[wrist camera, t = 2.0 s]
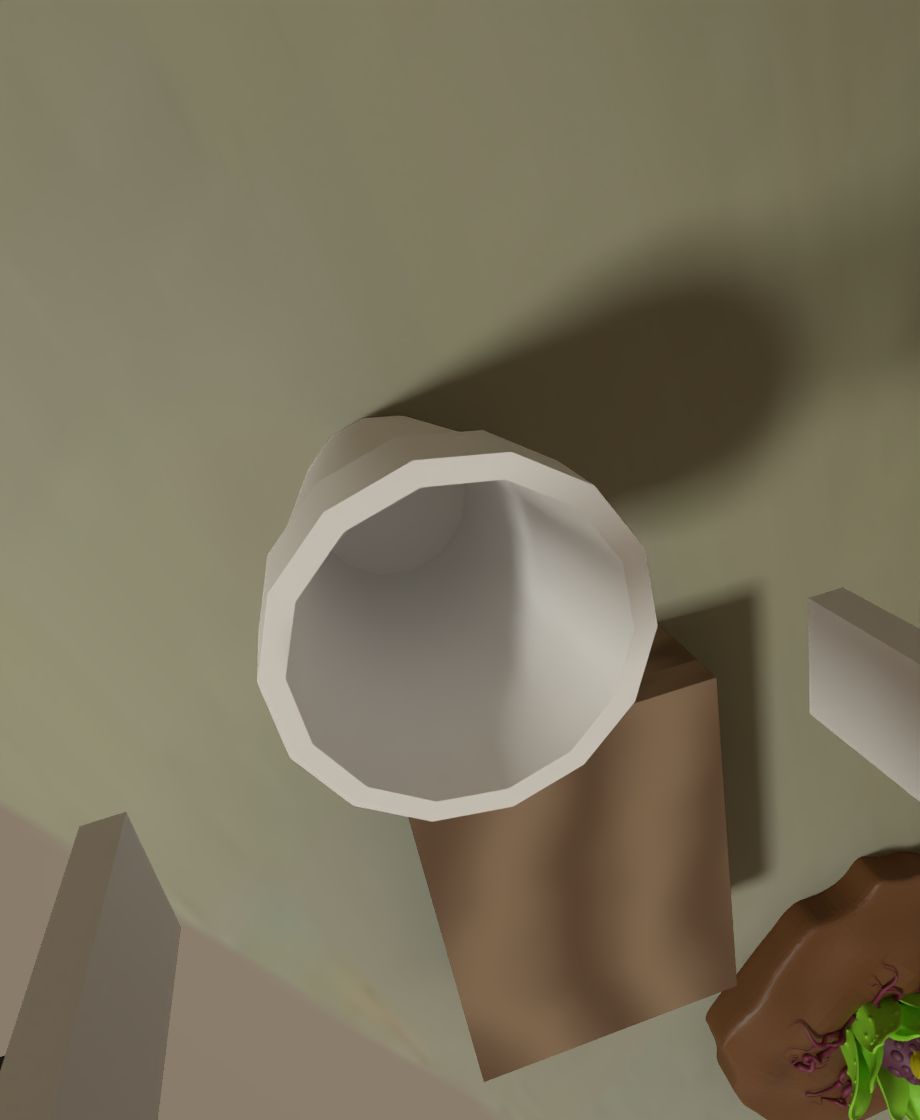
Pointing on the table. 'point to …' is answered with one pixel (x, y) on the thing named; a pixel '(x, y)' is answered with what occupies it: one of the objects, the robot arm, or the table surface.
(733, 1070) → the plant
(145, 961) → the robot arm
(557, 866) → the walnut shelf stand
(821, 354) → the table surface
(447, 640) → the foam cup
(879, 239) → the table surface
